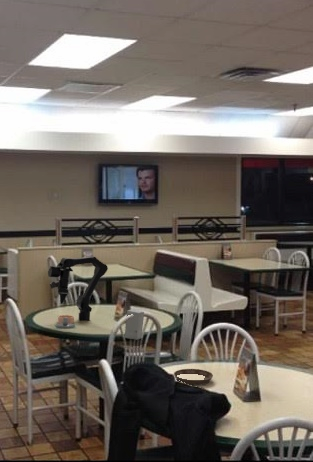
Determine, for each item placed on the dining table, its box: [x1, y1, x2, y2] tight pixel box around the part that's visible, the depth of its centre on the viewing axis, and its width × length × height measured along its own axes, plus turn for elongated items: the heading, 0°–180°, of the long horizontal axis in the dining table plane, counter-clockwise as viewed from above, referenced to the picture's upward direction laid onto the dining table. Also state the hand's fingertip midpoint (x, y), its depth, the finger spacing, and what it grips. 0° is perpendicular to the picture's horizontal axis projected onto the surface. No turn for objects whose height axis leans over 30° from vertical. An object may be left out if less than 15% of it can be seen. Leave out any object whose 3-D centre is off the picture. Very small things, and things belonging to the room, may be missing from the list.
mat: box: [53, 323, 77, 330], centre depth 379 cm, size 12×12×1 cm
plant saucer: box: [173, 368, 214, 385], centre depth 282 cm, size 18×18×3 cm
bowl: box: [57, 314, 75, 324], centre depth 391 cm, size 10×10×4 cm
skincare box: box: [124, 309, 145, 341], centre depth 358 cm, size 8×7×16 cm
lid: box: [55, 317, 76, 329], centre depth 379 cm, size 12×12×5 cm
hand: (61, 302), depth 392 cm, fingers open, 9 cm apart
